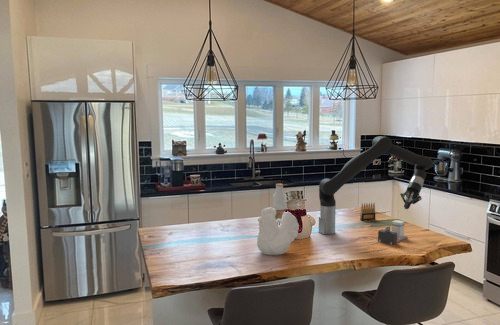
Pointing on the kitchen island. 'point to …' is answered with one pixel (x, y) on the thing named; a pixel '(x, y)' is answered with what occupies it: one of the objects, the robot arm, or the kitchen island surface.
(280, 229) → the decorative rooster
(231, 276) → the kitchen island surface
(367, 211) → the ammunition clip
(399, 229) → the grooved white block
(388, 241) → the grey boxy device
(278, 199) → the white bottle
